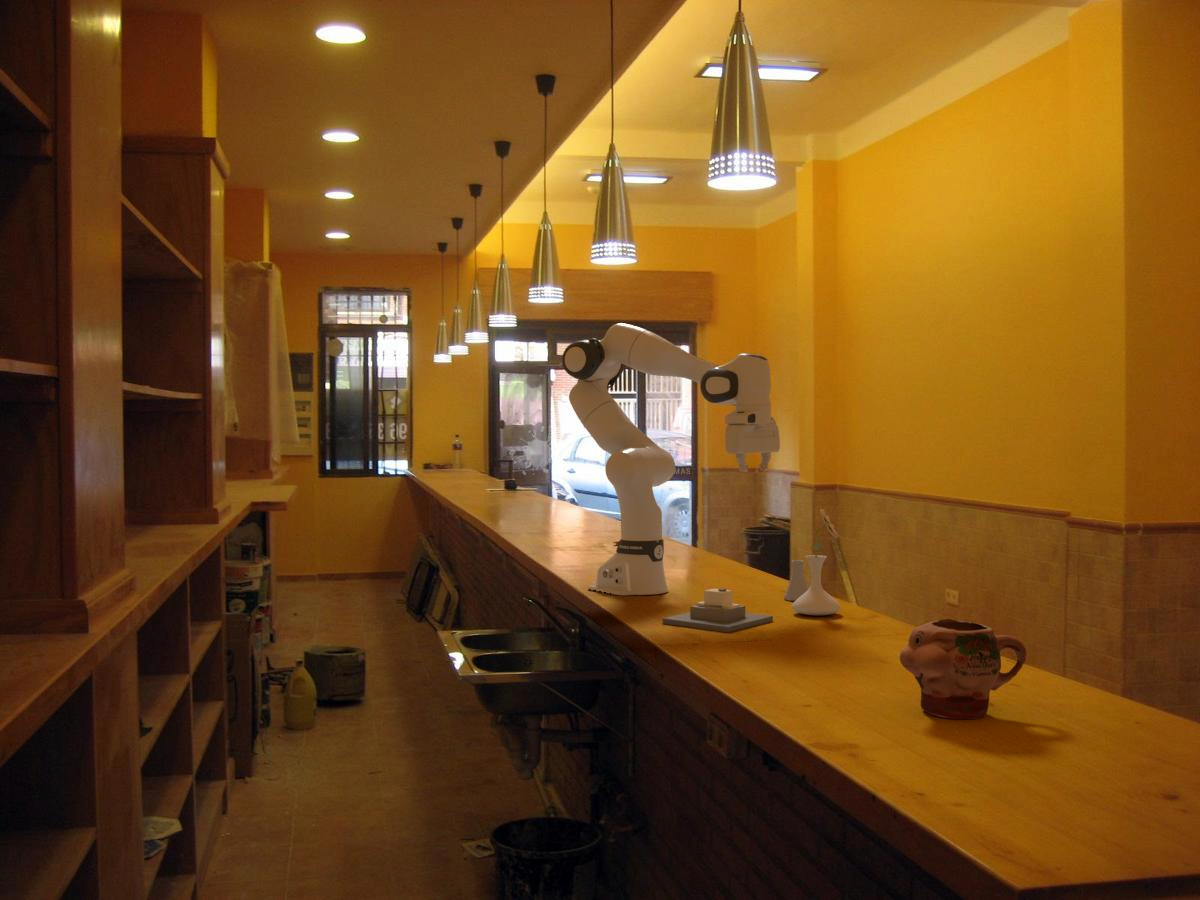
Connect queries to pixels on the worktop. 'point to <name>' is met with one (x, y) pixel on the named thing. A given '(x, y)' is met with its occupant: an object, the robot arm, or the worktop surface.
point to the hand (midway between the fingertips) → (753, 471)
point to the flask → (796, 582)
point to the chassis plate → (718, 619)
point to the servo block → (718, 599)
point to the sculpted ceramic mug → (958, 666)
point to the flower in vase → (817, 582)
